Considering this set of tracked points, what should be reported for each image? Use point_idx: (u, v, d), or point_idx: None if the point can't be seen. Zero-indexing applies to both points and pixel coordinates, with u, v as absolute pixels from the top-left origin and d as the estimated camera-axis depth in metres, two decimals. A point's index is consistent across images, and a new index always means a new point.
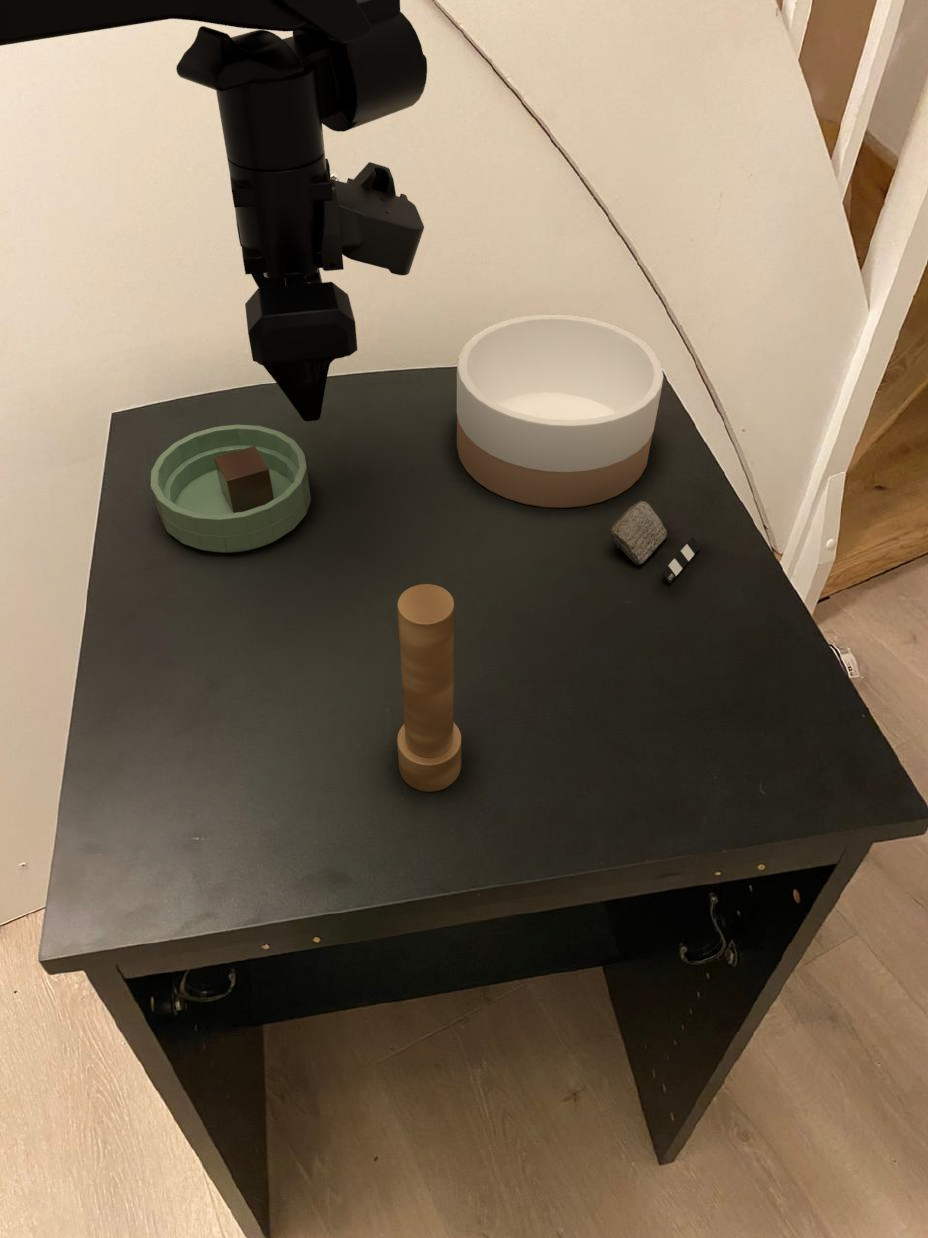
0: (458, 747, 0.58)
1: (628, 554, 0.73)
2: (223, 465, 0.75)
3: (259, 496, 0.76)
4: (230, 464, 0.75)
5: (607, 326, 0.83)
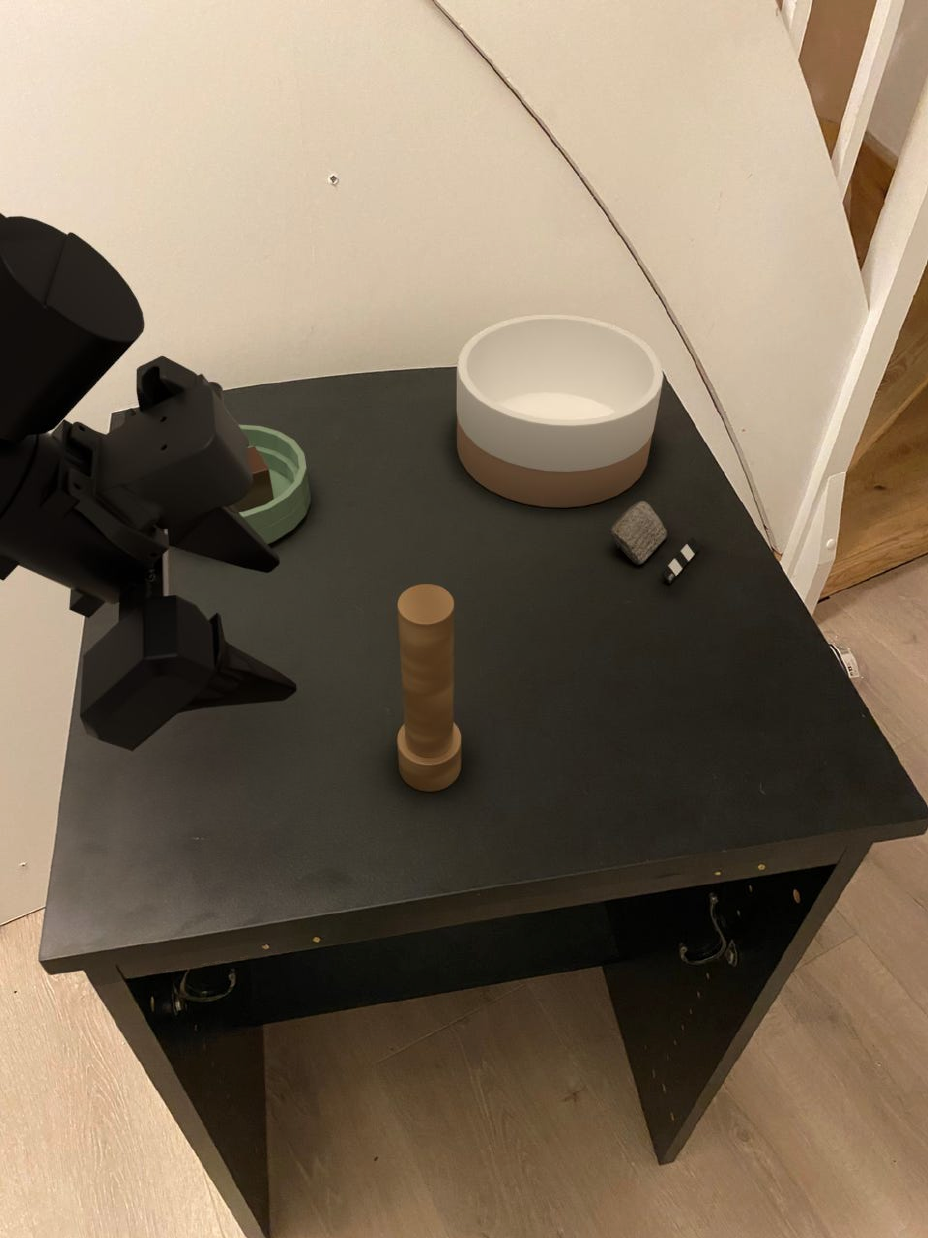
0: (458, 747, 0.58)
1: (628, 554, 0.73)
2: None
3: (259, 496, 0.76)
4: None
5: (607, 325, 0.83)
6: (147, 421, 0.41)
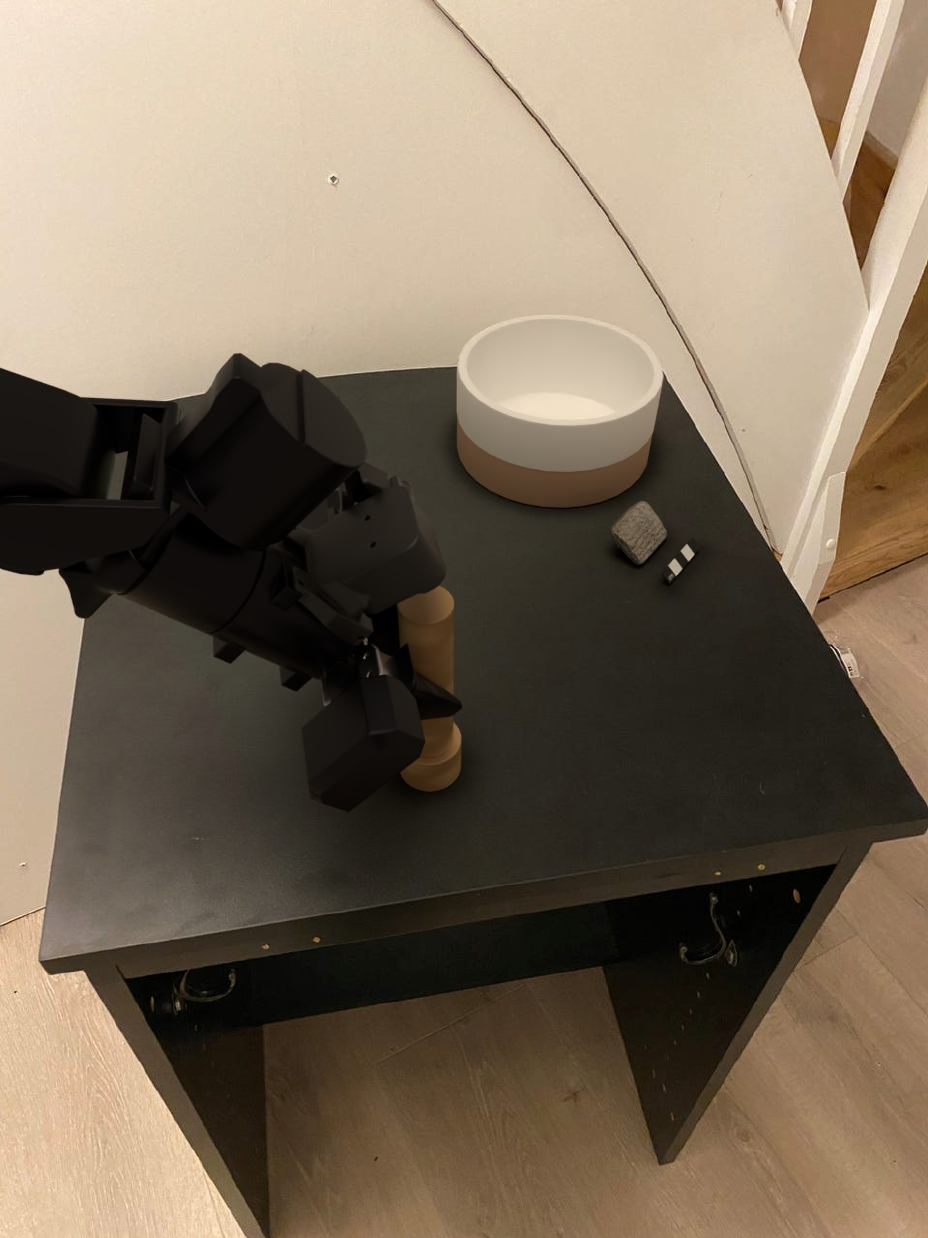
0: (458, 747, 0.58)
1: (628, 554, 0.73)
2: None
3: None
4: None
5: (607, 325, 0.83)
6: (351, 519, 0.46)
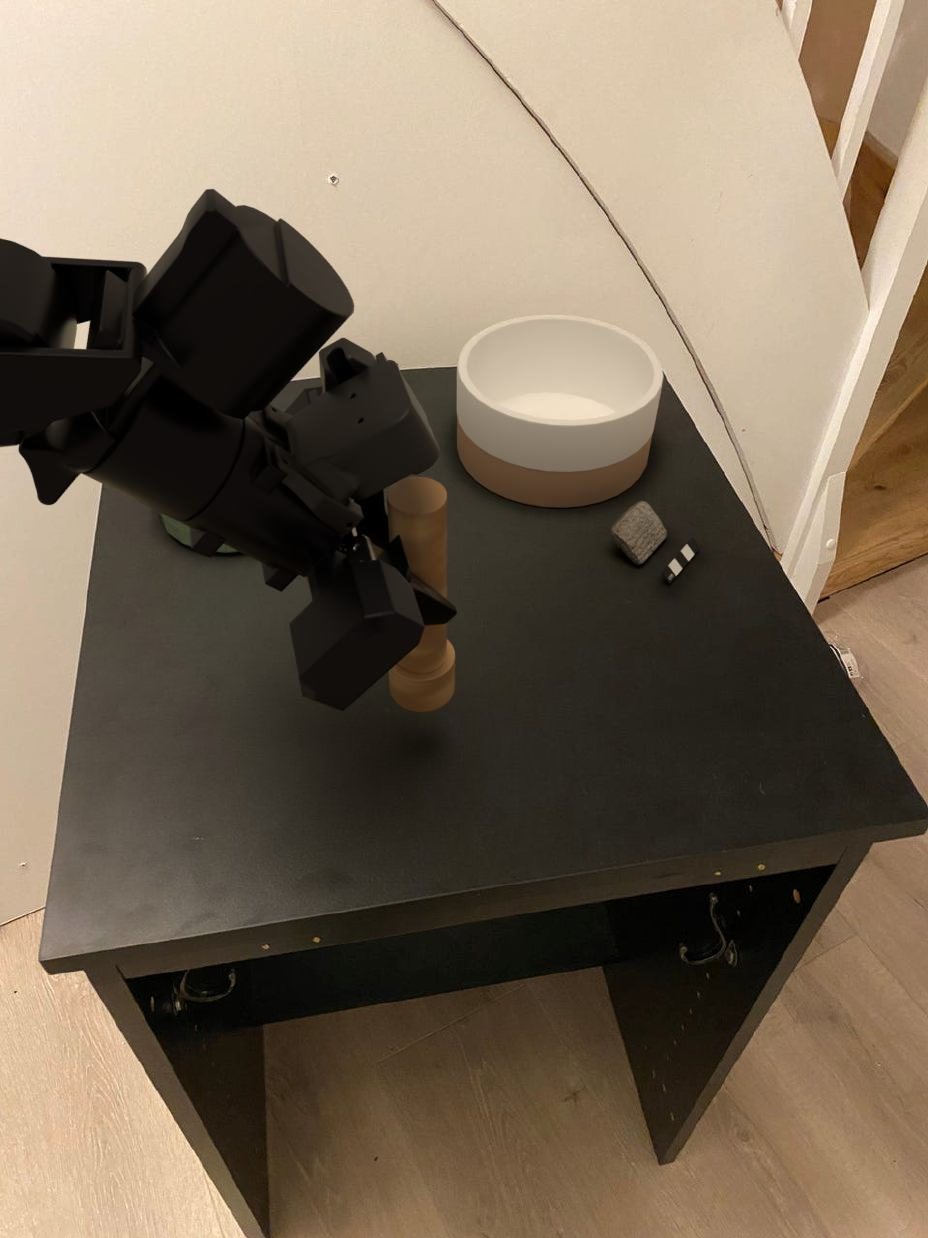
0: (452, 662, 0.55)
1: (628, 554, 0.73)
2: None
3: None
4: None
5: (607, 325, 0.83)
6: (336, 399, 0.43)
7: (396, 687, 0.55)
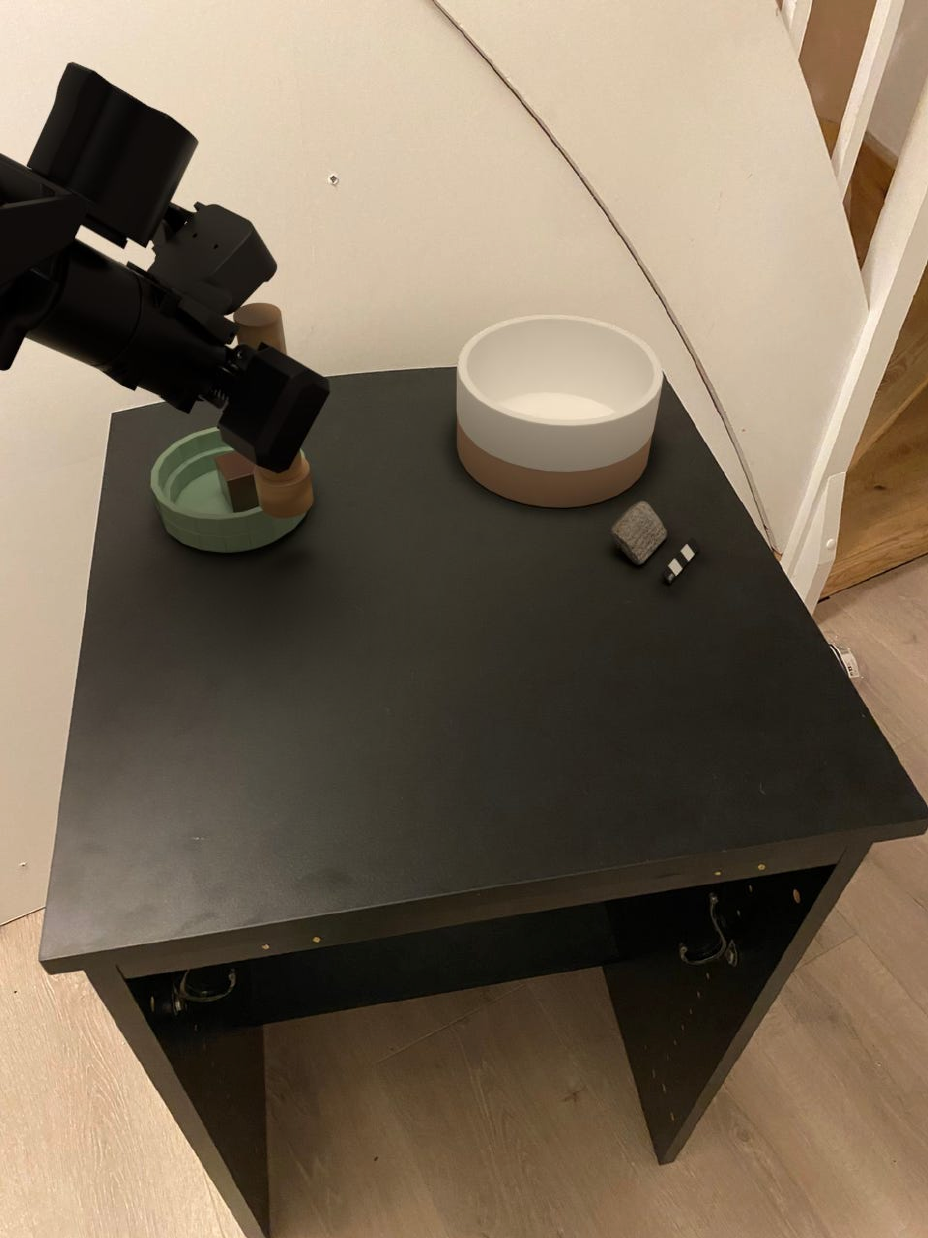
0: (308, 465, 0.68)
1: (628, 554, 0.73)
2: (223, 465, 0.75)
3: None
4: (230, 464, 0.75)
5: (607, 325, 0.83)
6: (181, 242, 0.54)
7: (273, 500, 0.67)
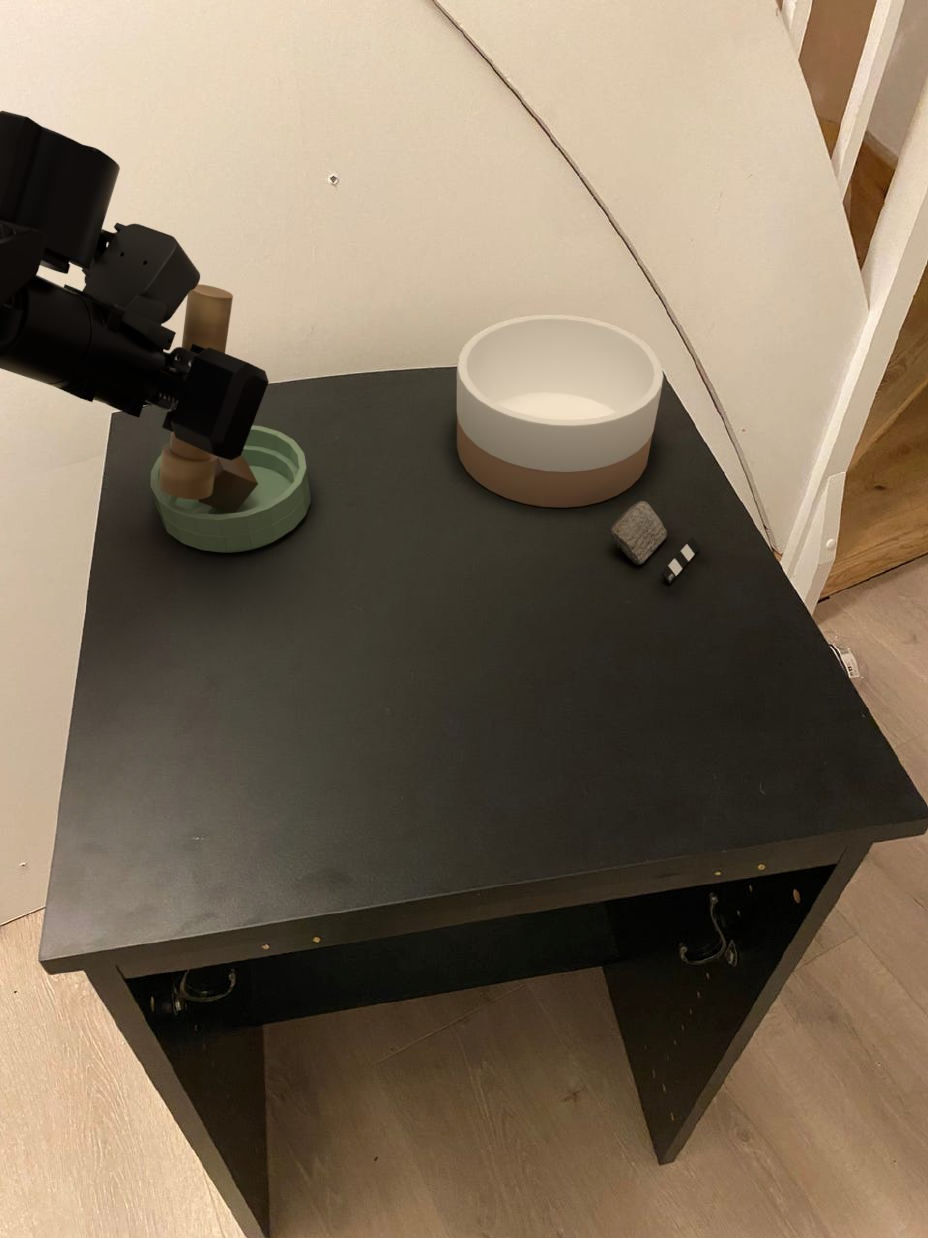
0: None
1: (628, 554, 0.73)
2: None
3: (239, 490, 0.75)
4: None
5: (607, 325, 0.83)
6: (110, 262, 0.59)
7: (180, 478, 0.70)
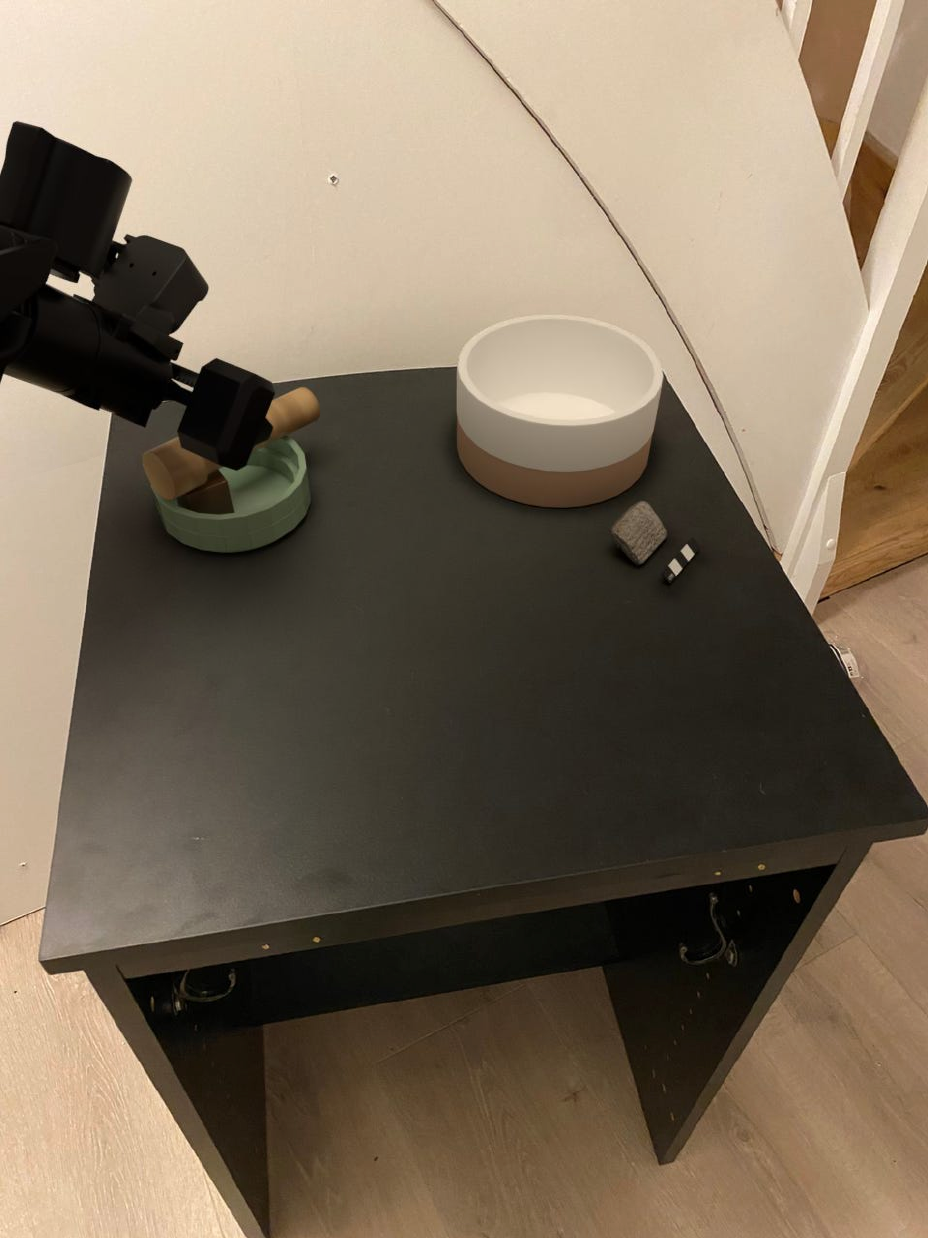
0: None
1: (628, 554, 0.73)
2: None
3: (217, 497, 0.74)
4: None
5: (607, 325, 0.83)
6: (119, 273, 0.59)
7: (181, 455, 0.70)
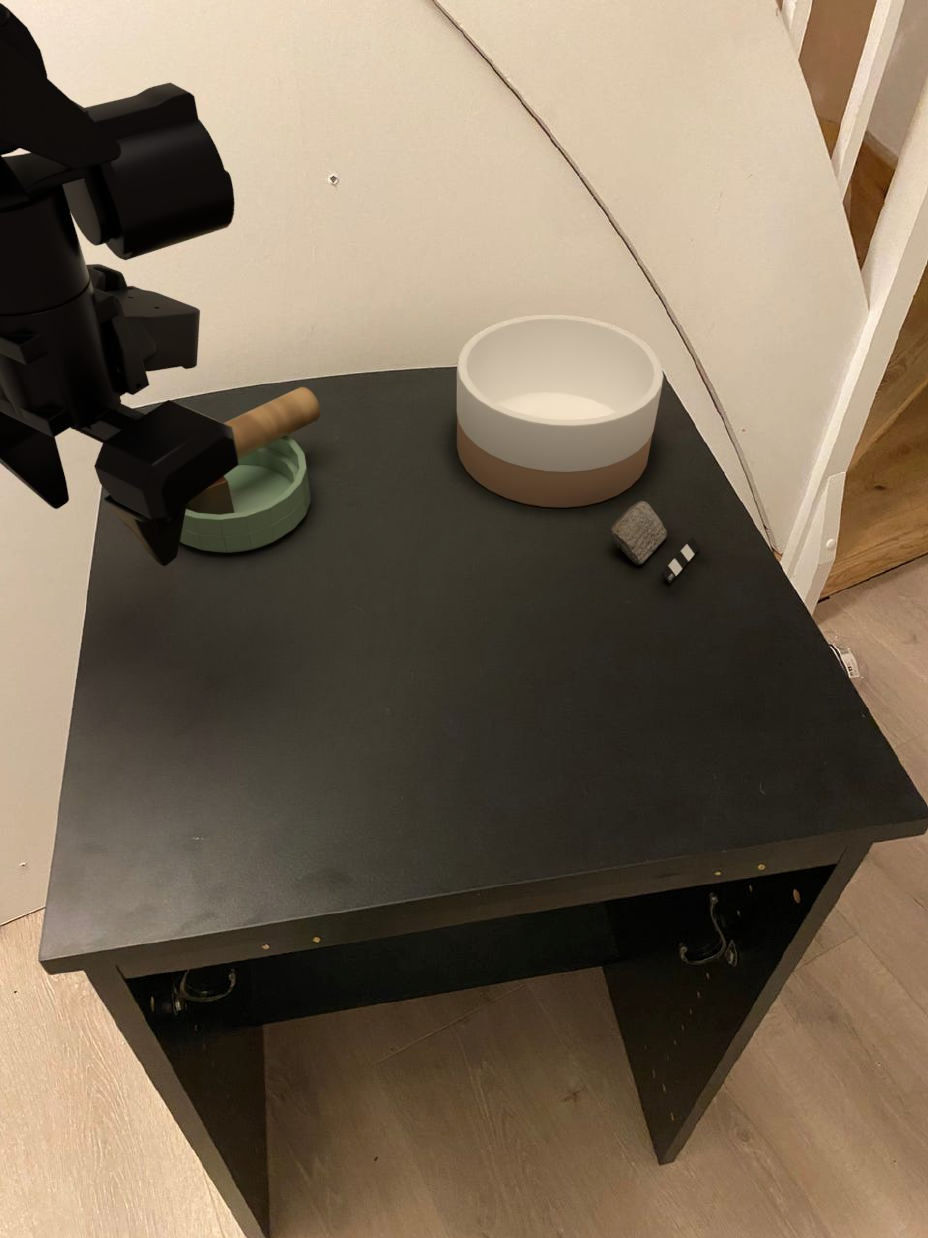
0: None
1: (628, 554, 0.73)
2: None
3: (217, 497, 0.74)
4: None
5: (607, 325, 0.83)
6: (113, 296, 0.51)
7: None
